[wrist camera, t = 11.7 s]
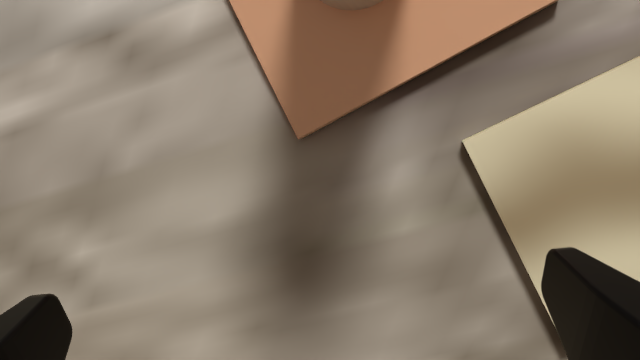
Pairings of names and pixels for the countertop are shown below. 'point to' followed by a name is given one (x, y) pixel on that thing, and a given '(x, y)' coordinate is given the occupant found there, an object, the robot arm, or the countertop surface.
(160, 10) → the countertop surface
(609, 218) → the mat
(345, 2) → the spice jar
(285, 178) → the countertop surface
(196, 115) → the countertop surface
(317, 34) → the mat
